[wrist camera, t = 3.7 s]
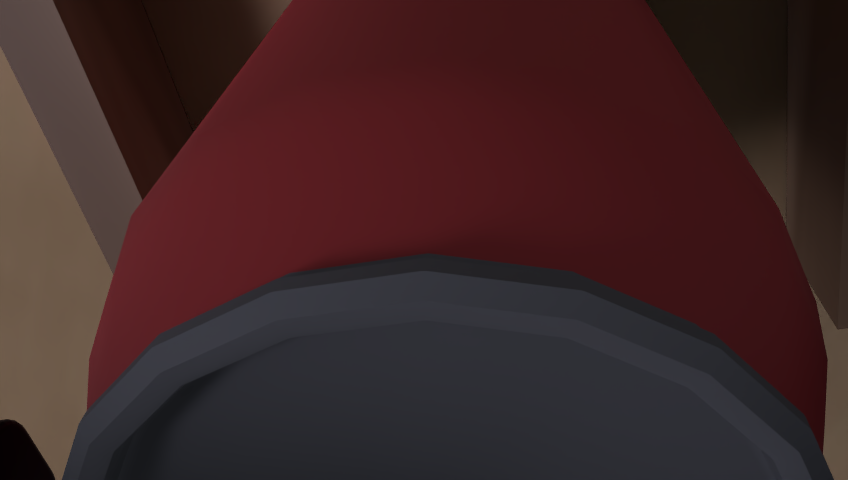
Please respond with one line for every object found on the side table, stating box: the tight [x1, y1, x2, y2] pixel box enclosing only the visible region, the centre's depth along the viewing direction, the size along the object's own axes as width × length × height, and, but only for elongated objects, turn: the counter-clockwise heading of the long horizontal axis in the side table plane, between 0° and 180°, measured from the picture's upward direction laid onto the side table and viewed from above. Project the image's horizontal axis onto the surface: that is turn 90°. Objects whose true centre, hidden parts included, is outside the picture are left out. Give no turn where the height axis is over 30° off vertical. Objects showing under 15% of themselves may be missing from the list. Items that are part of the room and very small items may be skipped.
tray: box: [0, 0, 848, 329], centre depth 14 cm, size 14×12×3 cm
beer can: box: [62, 0, 834, 480], centre depth 11 cm, size 7×7×12 cm
